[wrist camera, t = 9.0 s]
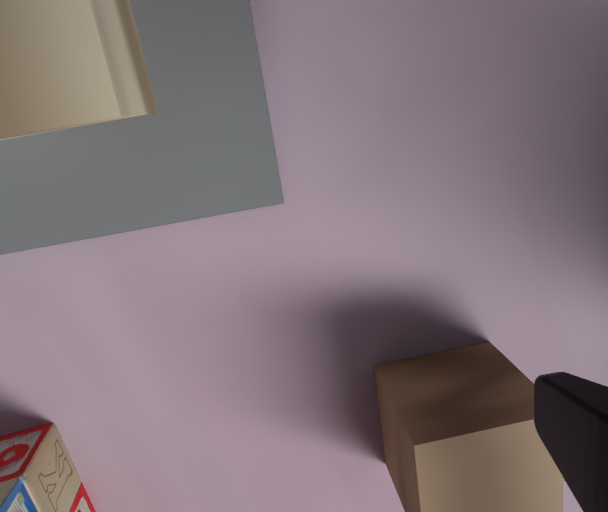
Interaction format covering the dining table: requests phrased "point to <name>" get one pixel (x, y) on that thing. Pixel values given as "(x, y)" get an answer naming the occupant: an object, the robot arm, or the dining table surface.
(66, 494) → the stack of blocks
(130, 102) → the ash block
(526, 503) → the rectangular block
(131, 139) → the slate mat
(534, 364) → the dining table surface
